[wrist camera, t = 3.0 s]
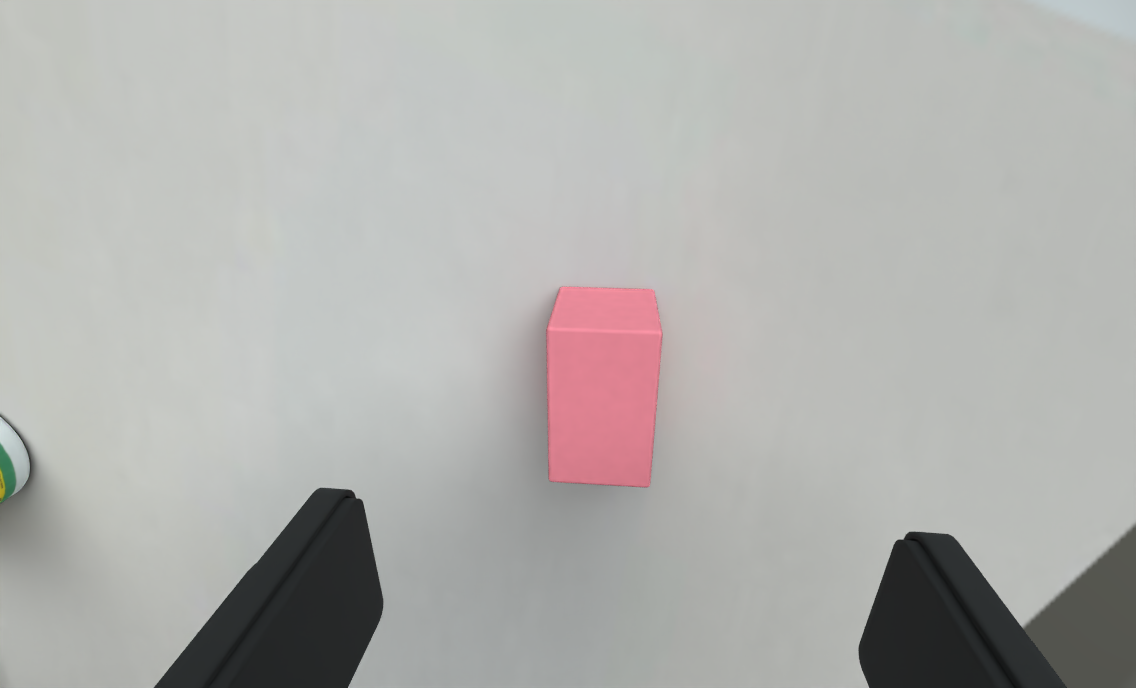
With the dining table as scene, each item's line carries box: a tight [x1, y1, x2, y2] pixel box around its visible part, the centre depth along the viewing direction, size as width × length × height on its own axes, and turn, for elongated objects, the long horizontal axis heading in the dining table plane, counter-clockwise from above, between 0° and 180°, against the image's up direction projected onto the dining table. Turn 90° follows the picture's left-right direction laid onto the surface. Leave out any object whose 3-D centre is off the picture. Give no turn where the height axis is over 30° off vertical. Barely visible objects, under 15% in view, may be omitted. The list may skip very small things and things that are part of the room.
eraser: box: [546, 287, 662, 487], centre depth 16 cm, size 5×3×4 cm, turn 0°
